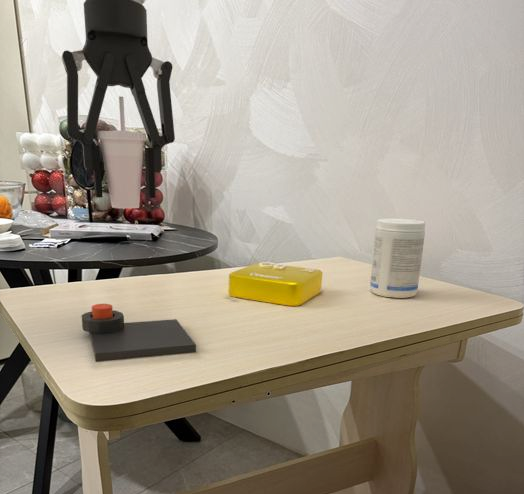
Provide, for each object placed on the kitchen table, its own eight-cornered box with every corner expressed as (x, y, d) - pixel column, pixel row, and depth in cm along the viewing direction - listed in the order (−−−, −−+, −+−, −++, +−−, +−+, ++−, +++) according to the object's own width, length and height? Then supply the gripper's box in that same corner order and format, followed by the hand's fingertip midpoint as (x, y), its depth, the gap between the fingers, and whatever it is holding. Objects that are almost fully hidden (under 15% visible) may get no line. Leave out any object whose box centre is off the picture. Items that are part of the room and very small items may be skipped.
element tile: (224, 296, 99) (225, 271, 98) (257, 281, 112) (258, 259, 111) (298, 307, 94) (299, 281, 92) (323, 291, 107) (325, 267, 105)
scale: (88, 363, 65) (87, 340, 64) (82, 330, 77) (80, 311, 76) (196, 352, 70) (196, 331, 69) (174, 323, 82) (174, 305, 81)
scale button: (93, 321, 73) (92, 309, 72) (91, 315, 75) (91, 304, 75) (114, 320, 74) (113, 308, 73) (111, 314, 76) (111, 302, 76)
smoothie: (154, 206, 75) (150, 99, 70) (141, 210, 69) (136, 94, 64) (111, 204, 76) (104, 98, 71) (94, 208, 70) (85, 92, 65)
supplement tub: (423, 293, 108) (434, 221, 103) (406, 302, 101) (417, 224, 96) (380, 285, 113) (388, 216, 108) (360, 293, 106) (368, 219, 101)
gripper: (29, -19, 57) (50, 198, 65) (199, 6, 64) (200, 199, 72) (30, -2, 64) (49, 194, 72) (184, 19, 71) (186, 195, 79)
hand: (125, 196), depth 72 cm, fingers closed on smoothie, 6 cm apart
